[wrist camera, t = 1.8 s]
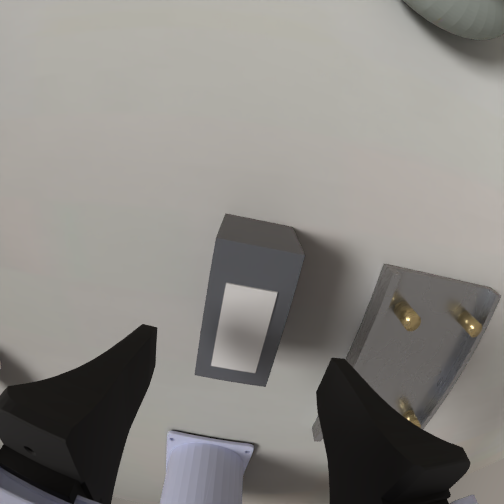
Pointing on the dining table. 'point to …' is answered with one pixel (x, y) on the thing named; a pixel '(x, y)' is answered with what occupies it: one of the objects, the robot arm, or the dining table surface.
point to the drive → (247, 299)
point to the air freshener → (464, 16)
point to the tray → (418, 339)
